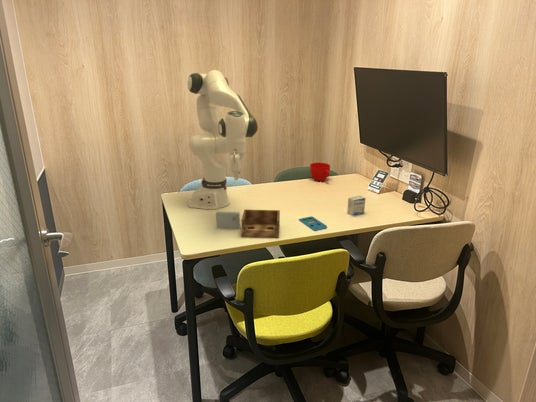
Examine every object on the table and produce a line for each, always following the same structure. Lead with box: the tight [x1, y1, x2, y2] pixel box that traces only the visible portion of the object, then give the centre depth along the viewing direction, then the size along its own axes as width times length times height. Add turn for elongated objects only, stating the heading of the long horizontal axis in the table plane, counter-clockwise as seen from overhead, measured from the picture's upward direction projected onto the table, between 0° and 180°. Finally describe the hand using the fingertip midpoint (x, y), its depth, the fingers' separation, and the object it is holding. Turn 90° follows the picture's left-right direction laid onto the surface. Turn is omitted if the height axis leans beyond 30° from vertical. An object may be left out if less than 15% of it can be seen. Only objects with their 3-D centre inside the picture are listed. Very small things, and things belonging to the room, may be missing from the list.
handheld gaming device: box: [298, 216, 328, 232], centre depth 193 cm, size 8×1×15 cm
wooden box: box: [240, 208, 281, 239], centre depth 184 cm, size 17×14×8 cm
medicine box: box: [346, 195, 366, 217], centre depth 205 cm, size 8×4×9 cm, turn 117°
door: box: [215, 211, 241, 230], centre depth 187 cm, size 11×3×8 cm, turn 87°
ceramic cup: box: [309, 162, 331, 182], centre depth 255 cm, size 13×17×10 cm
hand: (237, 176), depth 185 cm, fingers open, 8 cm apart
